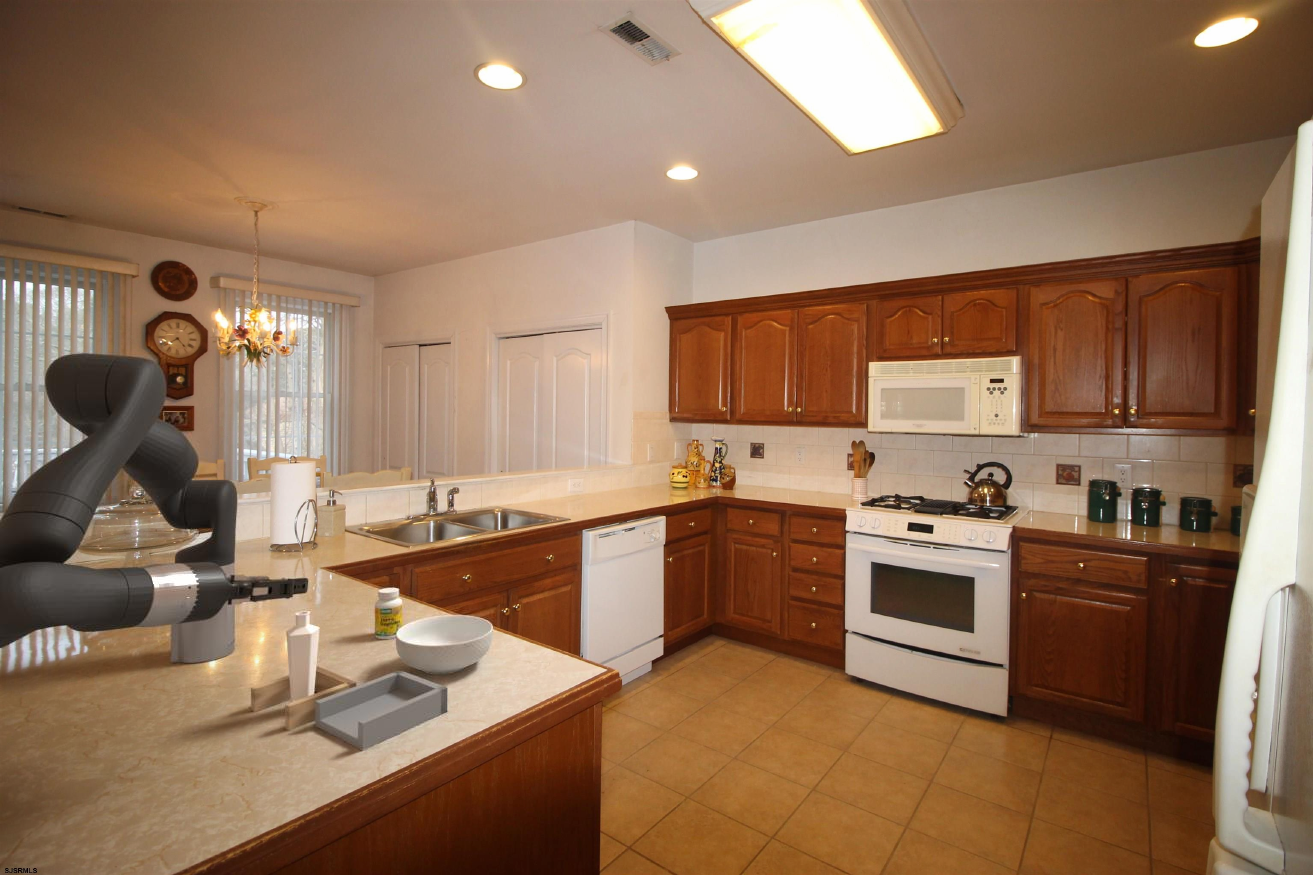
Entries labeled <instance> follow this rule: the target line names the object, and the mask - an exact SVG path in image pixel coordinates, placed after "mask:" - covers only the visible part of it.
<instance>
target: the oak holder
mask: <svg viewBox="0 0 1313 875" xmlns="http://www.w3.org/2000/svg"><path fill="white" fill-rule="evenodd" d="M355 686H358V684H357V681H354V680H352V679H350V678H347V677H345V676H343V675H341V674H340V675H339V674H337V673H336V672H332V671H331V670H328V669H325V668H323V667H321V666H318V665H316V676H315V688H314V694H313V695H310V696H308V697H305V698H302V699H299V700H296V701H294V702H291V703H290V702H288V703H285V704H284V729H285V730H288V731H291V730H294V729H297V728H299V727H302V726H304V725H306V724H310V723H312V722H315V705H316V701H317V700H320V699H323V698H325V697H328V696H331V695H334V694H336V693H339V692H342V691H345V690H347V689H350V688H353V687H355ZM315 692H316V693H315ZM286 701H291V691H290V677H289V674H288V675H286V676H285V675H284V676H282V677H279V678H277V679H272V680H270V681H266V682H264V683H261V684H258V685H254V686H252V687H250V710H251V711H252V712H258V711H261V710H263V709H267V708H270V707H272V706H275V705H278V704H281V703H283V702H286Z"/></svg>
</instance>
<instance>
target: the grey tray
mask: <svg viewBox="0 0 1313 875" xmlns="http://www.w3.org/2000/svg"><path fill="white" fill-rule="evenodd" d="M447 712H448V687H447V686H443V685H440V684H438V683H436V682H432V681H431V680H428V679H424V678H423V677H422V678H421V677H419V676H416V675H414V674H411V673H408V672H406V671H403V670H400V669H399V670H397V671H394V672H391V673H388V674H386V675H383V676H380V677H378V678H375V679H372V680H369V681H367V682H364V683H362V684H359V685H358V684H357V686H355V687H353V688H350V689H347V690H345V691H342V692H339V693H336V694H334V695H331V696H328V697H325V698H323V699H320V700H317V701H316V705H315V721H314V722H315V727H317V728H319V729H320V730H322V731H323V732H324V731H325V732H327V733H328V734H330V735H332V736H334V737H336V738H338V739H340V740H342V741H344V742H346V743H348V744H350V745H352V746H353V747H355V748H358V749H359V750H362V751H364V750H367V749H370V748H372V747H374V746H375V745H377V744H380V743H382V742H384V741H387V740H388V739H391V738H393V737H394V736H397V735H399V734H402V733H403V732H406V731H408V730H410V729H413V728H414V727H416V726H418V725H421V724H423V723H425V722H427V721H430V720H432V719H434V718H436V717H439V716H440V715H442V714H445V713H447Z"/></svg>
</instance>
